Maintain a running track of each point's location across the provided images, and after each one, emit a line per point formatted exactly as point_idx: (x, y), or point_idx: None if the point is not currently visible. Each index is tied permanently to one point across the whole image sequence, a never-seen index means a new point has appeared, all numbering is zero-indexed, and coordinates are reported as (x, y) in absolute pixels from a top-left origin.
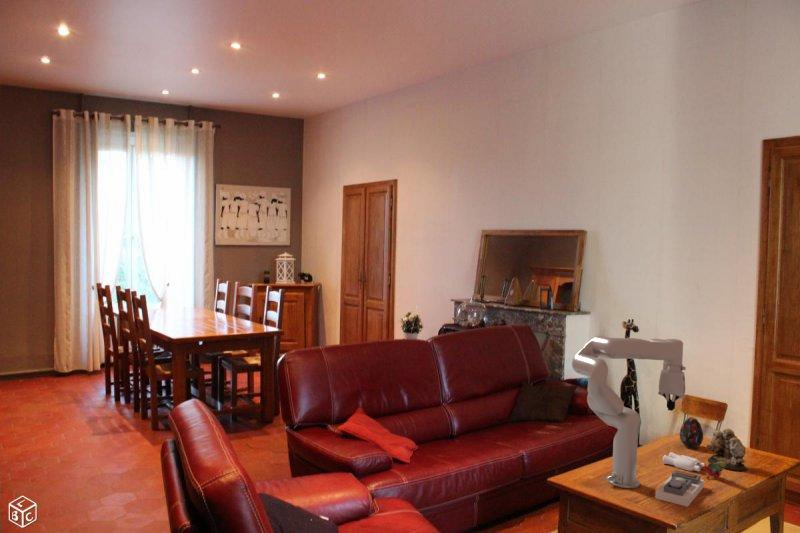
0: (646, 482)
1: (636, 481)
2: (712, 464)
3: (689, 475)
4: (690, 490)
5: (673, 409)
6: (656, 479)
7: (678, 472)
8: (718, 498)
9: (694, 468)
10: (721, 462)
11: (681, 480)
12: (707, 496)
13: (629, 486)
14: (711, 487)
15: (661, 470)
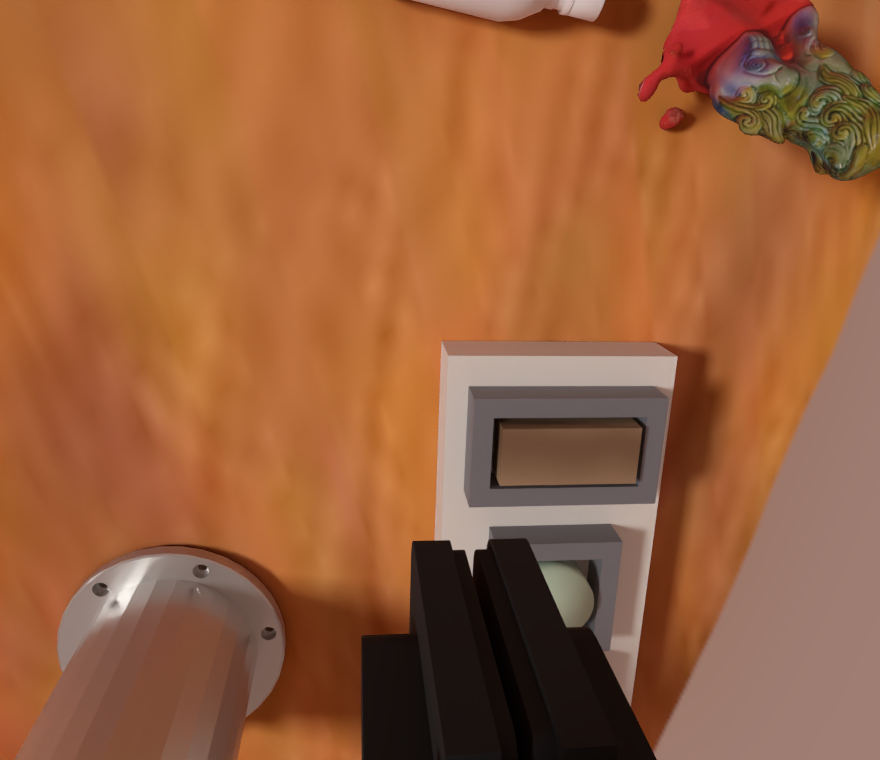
0: (296, 523)
1: (251, 617)
2: (766, 135)
3: (599, 481)
4: (617, 622)
5: (521, 547)
6: (334, 416)
7: (514, 471)
8: (753, 483)
9: (557, 9)
10: (870, 158)
11: (566, 625)
12: (691, 496)
13: (246, 714)
14: (703, 306)
15: (300, 168)
